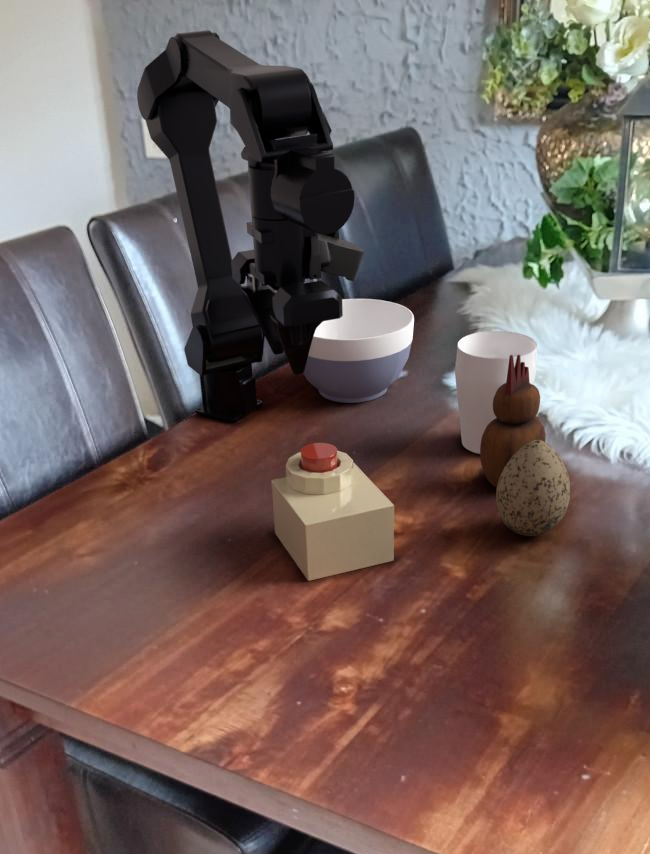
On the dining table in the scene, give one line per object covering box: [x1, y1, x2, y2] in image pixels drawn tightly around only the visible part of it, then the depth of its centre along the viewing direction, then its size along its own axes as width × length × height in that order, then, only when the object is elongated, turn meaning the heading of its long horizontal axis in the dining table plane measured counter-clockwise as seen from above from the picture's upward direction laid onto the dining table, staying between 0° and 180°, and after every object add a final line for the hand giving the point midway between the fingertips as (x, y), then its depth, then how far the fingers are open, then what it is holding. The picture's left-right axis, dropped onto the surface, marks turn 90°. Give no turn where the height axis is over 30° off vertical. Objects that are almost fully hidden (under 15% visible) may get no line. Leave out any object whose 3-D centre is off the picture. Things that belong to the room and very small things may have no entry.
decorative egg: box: [495, 440, 571, 537], centre depth 99 cm, size 7×7×10 cm
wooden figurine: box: [479, 355, 547, 488], centre depth 106 cm, size 7×6×15 cm
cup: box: [454, 330, 538, 455], centre depth 115 cm, size 9×9×12 cm
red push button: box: [300, 442, 338, 473], centre depth 99 cm, size 4×4×2 cm
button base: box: [270, 450, 395, 582], centre depth 99 cm, size 11×9×8 cm
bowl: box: [303, 298, 415, 404], centre depth 131 cm, size 16×16×10 cm
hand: (288, 363), depth 110 cm, fingers open, 6 cm apart
